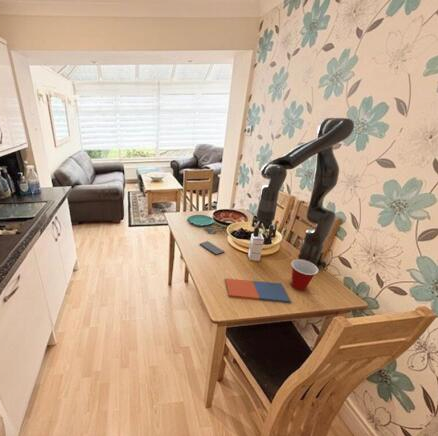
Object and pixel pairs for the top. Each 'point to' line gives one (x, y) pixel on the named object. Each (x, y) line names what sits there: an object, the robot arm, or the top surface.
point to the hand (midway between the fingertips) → (260, 240)
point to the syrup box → (255, 247)
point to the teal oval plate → (203, 222)
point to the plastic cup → (302, 273)
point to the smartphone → (212, 248)
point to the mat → (257, 290)
